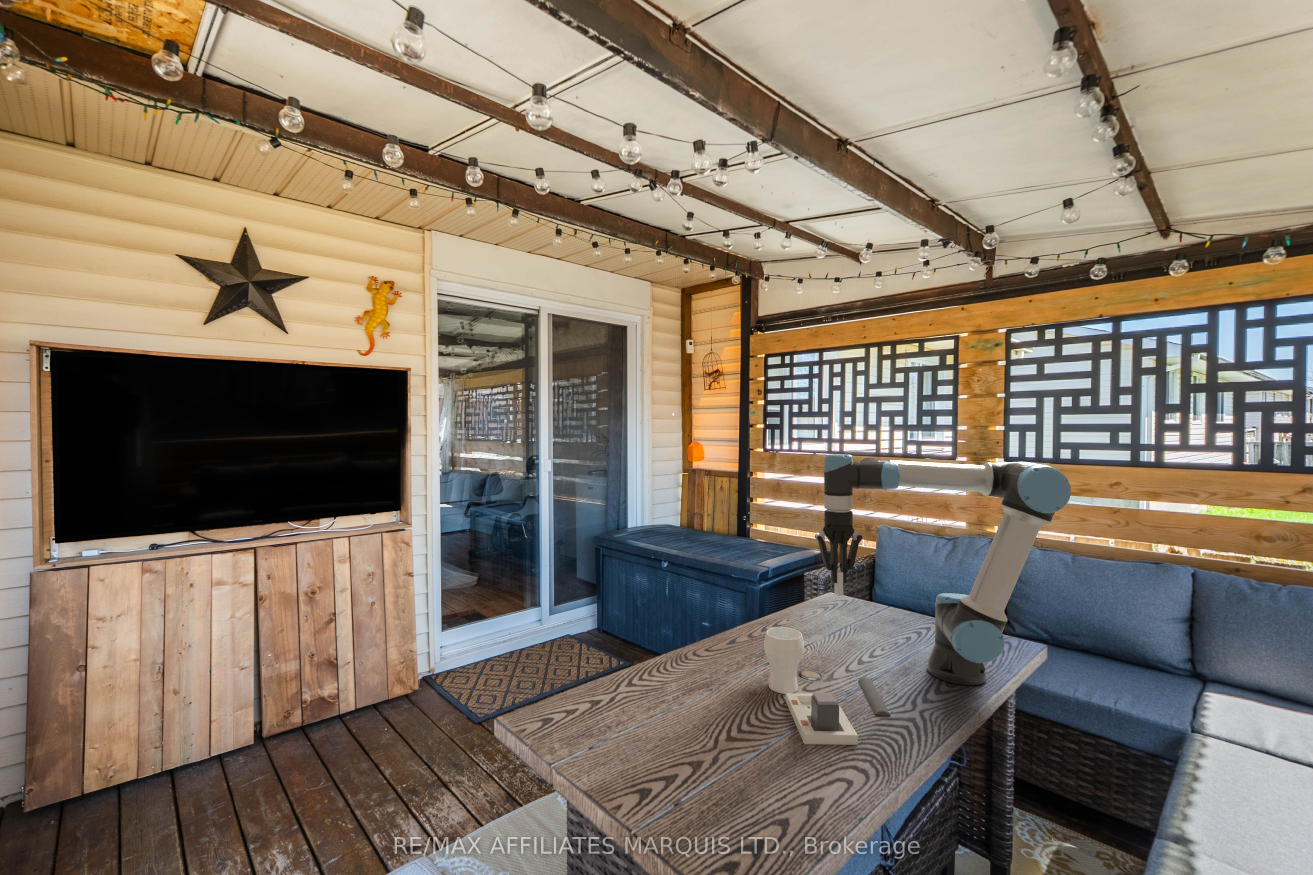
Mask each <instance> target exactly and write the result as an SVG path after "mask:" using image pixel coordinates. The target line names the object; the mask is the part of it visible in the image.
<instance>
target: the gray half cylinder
mask: <svg viewBox="0 0 1313 875" xmlns="http://www.w3.org/2000/svg"><path fill="white" fill-rule="evenodd" d="M857 683H858V685H859V687H860V689H861V691H862V693H863V695H864V696H865V699H866V701H867V703H868V704H869V707H870V709H871V712H872V713H873V715H874V716H883V717H887V716H888V717H891V713H890V712H889V710H888V708H887V706H886V704H885V703H884V701H883V699H882V697H881V695H880V694H879V692H878V690H877V689H876V686H875V684H874V683H873V681H872V679H871V678H868V677H865V676H864V677H863V676H862V677H860V678H859V679H858V680H857Z"/></svg>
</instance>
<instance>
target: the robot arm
mask: <svg viewBox="0 0 1313 875" xmlns="http://www.w3.org/2000/svg"><path fill="white" fill-rule="evenodd" d="M823 465H824V468H823V480H824V481H823V483H824V484H823V485H824V486H823V488H824V491H823V492H824V495H823V496H824V500H823V501H824V502H823V504H824V509H825V510H824V515H823V516H824V517H823V518H824V526H823V529H822V532H820V533H819V534H815V535H814V539H815V540H816V541H817V543H818V546H819V552H820V555H821V558H822V562H823V566H824V568H825V569H827V570H828V571H831V572H830V576H831V577H830V580H831V582H832V584H834V586H833V587H834V595H837V596H838V597H843V596H844V584H846V582H847V573H848V571H850V570H853V569H854V566H855V562H856V557H857V554H858V548H859V545H860V543H861V541H862V539H863V536H862V535H861V534H859V533H857V532H856V531H855V528H854V526H853V524H854V523H853V522H854V519H853V517H854V516H853V514H854V512H853V511H852V510H853V509H854V506H853V504H854V503H853V498H854V497H853V491H854V490H853V489H856V490H859V489H861V490H863V489H865V490H884V491H887V490H896V489H898V488H899V487H905V488H907V487H908V488H919V489H921V488H922V489H931V490H947V491H961V492H962V491H963V492H973V493H974V492H975V493H981V494H982V495H983V496H984V497H993V498H997V499H998V498H999V499H1002V500H1001V504H1000V506H1001V507H1000V508H1002V510H1003V516H1002V518H1001V521H1000V522H999V525H998V527H997V530H996V532H995V534H994V536H993V538H992V542H991V543H990V546H989V548H988V550H987V553H986V555H985V557H984V560H983V562H982V564H981V567H980V569H979V571H978V574H977V576H976V579H975V581H974V583H973V585H972V588H971V591H970V592H969V594H964V593H963V594H962V593H954V592H952V593H949V592H944V593H942V592H941V593H939V594H938V595H937V596H936V597H935V603H934V605H935V614H934V615H935V616H934V617H935V618H934V621H935V622H934V645H933V647H932V649H931V652H930V655H929V658H928V659H927V671H928V672H929V674H930V675H932V676H933V677H935V678H937V679H939V680H942V681H944V682H947V683H951V684H955V685H960V686H979V685H982V684H984V683H986V681H987V669H986V667H985V664H986V663H989V662H993V661H994V660H996V659H998V658H999V657H1000V656H1001V655H1002V653H1003V651H1004V648H1005V638H1004V635H1003V632H1004V629H1005V627H1006V625H1007V623H1008V620H1009V619H1008V617H1007V615H1006V613H1005V610H1006V607H1007V606H1008V602H1009V601H1010V598H1011V595H1012V593H1013V592H1014V589H1015V587H1016V584H1017V582H1018V580H1019V577H1020V575H1021V573H1022V570H1023V569H1024V566H1025V564H1026V561H1027V559H1028V557H1029V555H1030V552H1031V551H1032V548H1033V545H1034V543H1035V541H1036V538H1037V536H1038V534H1039V531H1040V530H1041V528H1042V527H1043V526H1046V525H1049V524H1051V523H1052V520H1053V517H1054V516H1055V514H1056V512H1059V511H1060V510H1062V509H1064V507H1066V506H1067V505H1068V503H1069V501H1070V499H1071V496H1072V485H1071V483H1070V481H1069V480H1068V477H1067V476H1066V475H1065V474H1064V472H1062V471H1060V470H1059V469H1058V468H1055V467H1052V466H1050V465H1047V464H1043V463H1035V462H1030V461H1012V462H990V461H989V462H988V461H987V462H984V463H983V464H982V465H979V464H978V465H977V464H962V463H961V464H960V463H950V462H949V463H947V462H931V461H930V462H929V461H915V460H914V461H913V460H899V459H897V460H896V459H885V458H883V459H882V458H874V457H864V458H863V459H861V460H859V461H855V460H854V459H853V455H852V454H849V453H848V454H847V453H845V454H844V453H831V454H827V455H825V457H824V464H823ZM826 538H827V540H828V541H829V546H830V556H829V552H828V548H827V545H826V542H825V540H826ZM850 539H852V540H851V542H850V545H849V550H848V542H849V540H850ZM838 550H839V552H838ZM838 554H839V555H838ZM838 562H839V564H838Z"/></svg>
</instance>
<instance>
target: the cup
mask: <svg viewBox="0 0 1313 875" xmlns="http://www.w3.org/2000/svg"><path fill="white" fill-rule="evenodd" d="M804 641H805V640H804V638H803V634H802V632H800V630H797V629H795V628H791V627H784V626H778V627H771V628H768V629H767V630H766V632H765V636H764V641H763V649H764V653H765V656H766V659H767V662H768V664H769V667H770V676H769V682H768V687H769V689H770V690H771V691H774V692H776V693H779V694H784V695H786V693H797V691H798V689H799V687H798V678H797V672H798V667H799V665H800V663H801V661H802V659H803V656H804V651H805V642H804Z"/></svg>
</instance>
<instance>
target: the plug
mask: <svg viewBox="0 0 1313 875" xmlns="http://www.w3.org/2000/svg"><path fill="white" fill-rule="evenodd" d="M812 693H813V695H811V726H812V728H813V730H814V731H839V706H840V704H839V701H838V700H837V698H836V697H835V696H834V694H833V693H832V692H812Z"/></svg>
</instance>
